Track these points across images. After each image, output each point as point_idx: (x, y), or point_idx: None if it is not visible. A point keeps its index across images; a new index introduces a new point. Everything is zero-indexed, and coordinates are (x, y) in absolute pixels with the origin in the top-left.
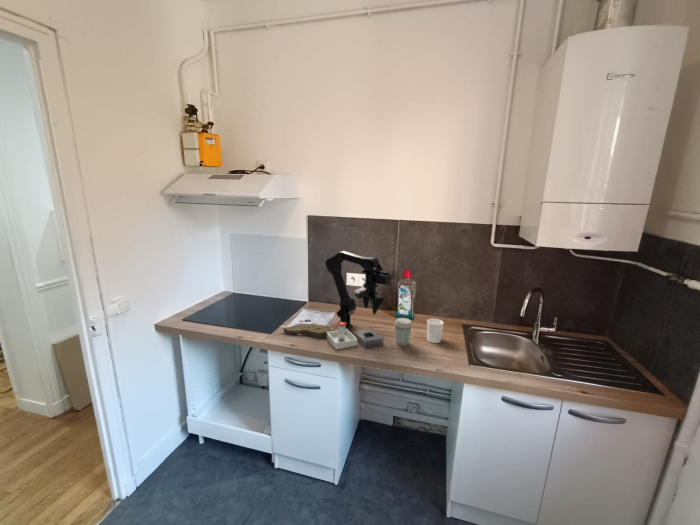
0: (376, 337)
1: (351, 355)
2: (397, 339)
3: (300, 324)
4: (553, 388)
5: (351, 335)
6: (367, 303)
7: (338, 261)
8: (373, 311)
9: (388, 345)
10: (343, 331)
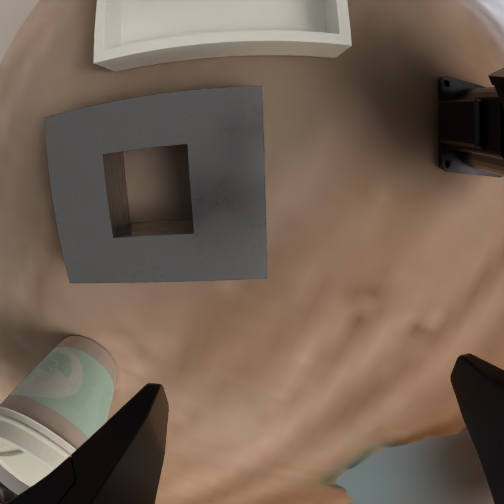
0: (88, 239)
1: (27, 20)
2: (55, 353)
3: None
4: None
5: (204, 35)
6: (483, 434)
7: None
8: (108, 421)
9: (69, 285)
10: None
